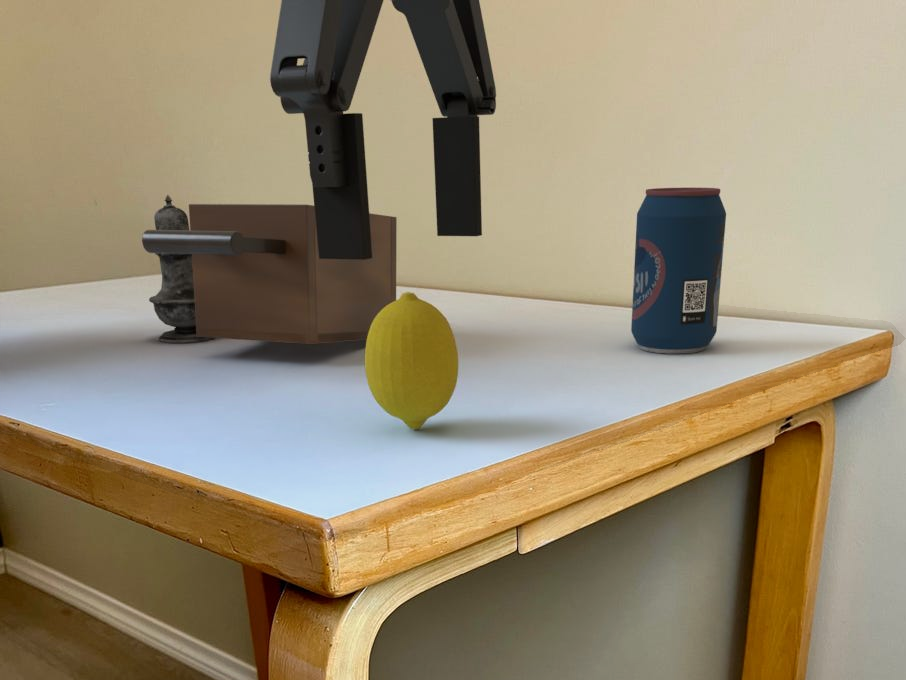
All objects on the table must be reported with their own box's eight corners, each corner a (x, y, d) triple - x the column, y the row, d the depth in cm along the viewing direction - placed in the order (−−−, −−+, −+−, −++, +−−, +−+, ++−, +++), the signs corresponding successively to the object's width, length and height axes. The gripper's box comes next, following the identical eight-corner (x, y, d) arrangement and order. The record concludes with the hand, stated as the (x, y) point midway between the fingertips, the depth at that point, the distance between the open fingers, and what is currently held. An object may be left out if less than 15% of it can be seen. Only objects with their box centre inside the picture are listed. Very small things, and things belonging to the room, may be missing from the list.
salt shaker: (179, 331, 96) (159, 193, 90) (233, 333, 94) (215, 193, 89) (141, 342, 91) (117, 197, 86) (197, 344, 89) (176, 196, 84)
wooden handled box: (293, 331, 95) (290, 216, 91) (396, 337, 90) (396, 217, 87) (133, 340, 76) (121, 196, 73) (253, 348, 72) (246, 196, 69)
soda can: (617, 342, 86) (624, 188, 80) (692, 337, 87) (703, 186, 82) (651, 357, 80) (660, 192, 74) (730, 351, 81) (745, 189, 76)
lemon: (477, 424, 62) (474, 288, 59) (424, 446, 58) (417, 301, 55) (406, 414, 65) (399, 283, 61) (351, 434, 61) (339, 295, 57)
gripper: (302, -360, 36) (351, 272, 45) (550, -183, 56) (548, 228, 65) (137, -318, 39) (216, 269, 48) (430, -164, 59) (445, 228, 68)
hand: (408, 246), depth 57 cm, fingers open, 13 cm apart
